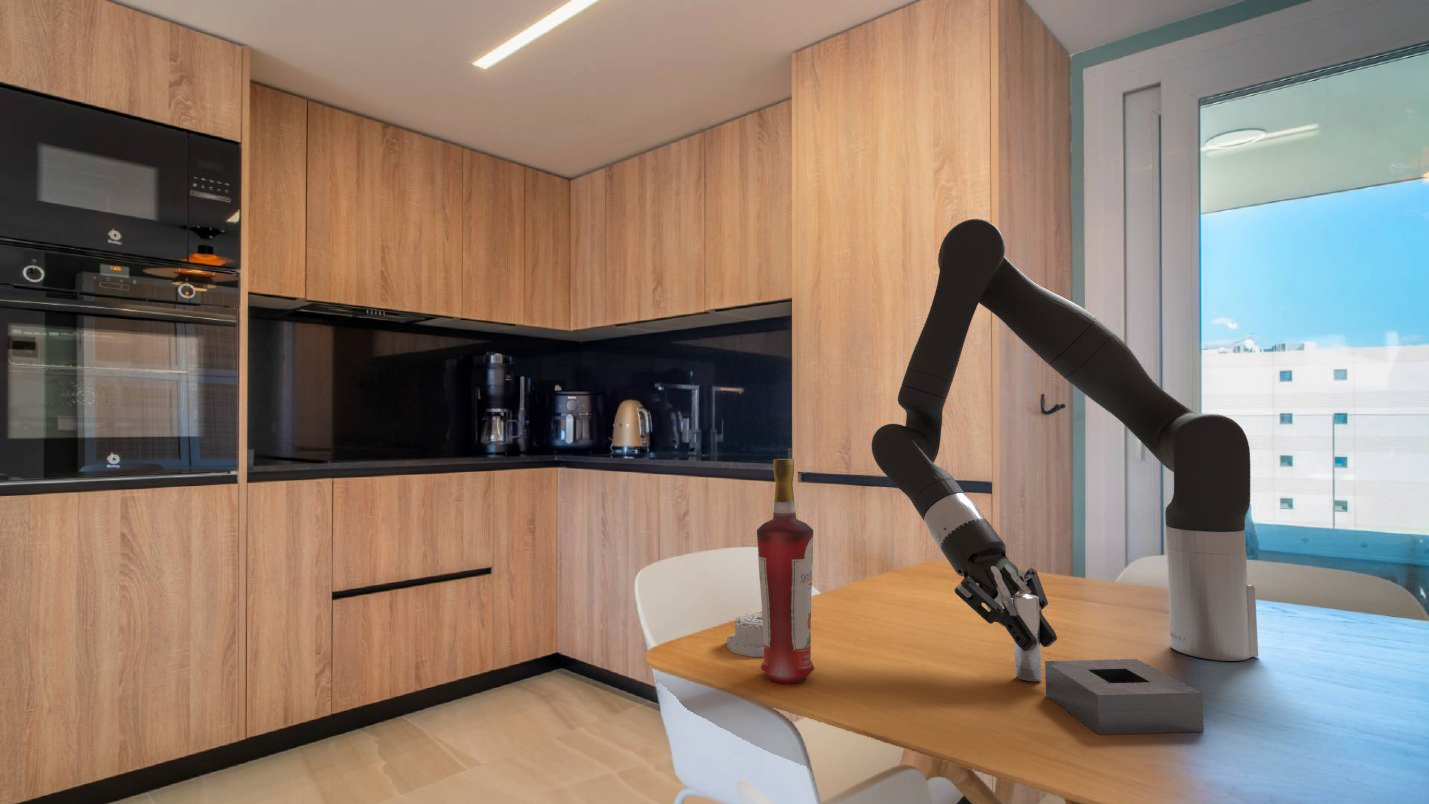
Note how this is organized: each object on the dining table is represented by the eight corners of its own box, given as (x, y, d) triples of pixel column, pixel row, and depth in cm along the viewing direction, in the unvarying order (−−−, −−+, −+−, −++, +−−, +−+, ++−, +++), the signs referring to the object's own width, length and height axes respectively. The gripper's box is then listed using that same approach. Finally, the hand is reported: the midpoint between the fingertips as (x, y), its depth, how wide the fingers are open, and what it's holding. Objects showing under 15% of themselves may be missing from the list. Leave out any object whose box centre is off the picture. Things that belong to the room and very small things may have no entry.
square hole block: (1137, 693, 85) (1136, 658, 85) (1203, 731, 74) (1201, 692, 74) (1046, 695, 84) (1044, 661, 85) (1098, 734, 73) (1097, 695, 74)
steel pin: (1034, 672, 92) (1031, 593, 92) (1046, 680, 89) (1043, 599, 89) (1011, 673, 92) (1008, 594, 92) (1022, 681, 88) (1019, 599, 89)
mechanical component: (721, 657, 102) (791, 661, 100) (720, 626, 102) (791, 629, 100) (733, 637, 111) (797, 640, 109) (733, 608, 111) (797, 611, 109)
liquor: (768, 665, 97) (764, 458, 98) (821, 671, 94) (817, 458, 95) (751, 683, 90) (748, 460, 91) (808, 690, 87) (804, 460, 89)
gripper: (938, 520, 94) (1018, 637, 83) (1013, 513, 101) (1097, 621, 89) (911, 555, 99) (984, 670, 87) (985, 546, 105) (1061, 652, 94)
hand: (1041, 644), depth 88 cm, fingers closed on steel pin, 3 cm apart
